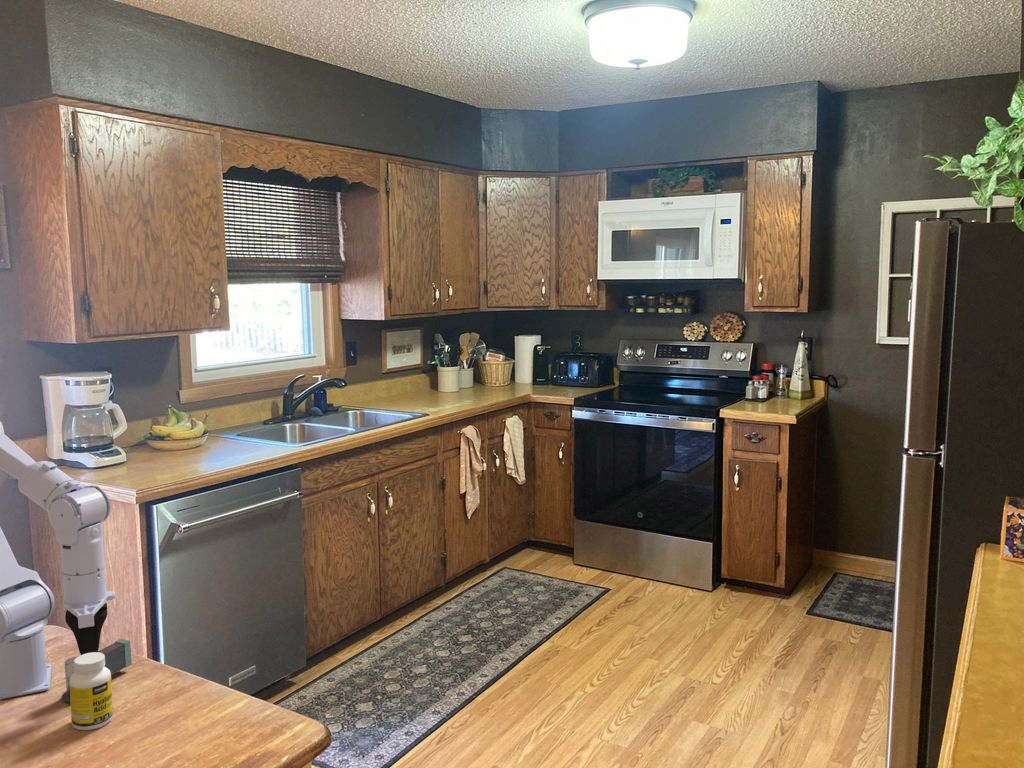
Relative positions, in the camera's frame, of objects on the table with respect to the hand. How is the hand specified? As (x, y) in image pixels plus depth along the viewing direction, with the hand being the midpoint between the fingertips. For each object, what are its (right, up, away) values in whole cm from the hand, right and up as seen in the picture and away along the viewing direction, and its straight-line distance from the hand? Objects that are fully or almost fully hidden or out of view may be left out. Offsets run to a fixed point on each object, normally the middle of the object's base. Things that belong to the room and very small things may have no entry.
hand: (89, 655), depth 127 cm
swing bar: (-1, -6, +6) cm, 8 cm away
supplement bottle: (+3, -8, -5) cm, 10 cm away
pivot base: (-3, -7, +2) cm, 8 cm away
